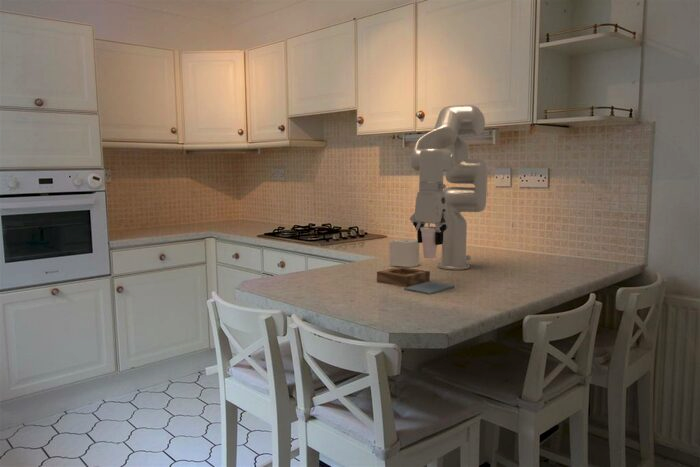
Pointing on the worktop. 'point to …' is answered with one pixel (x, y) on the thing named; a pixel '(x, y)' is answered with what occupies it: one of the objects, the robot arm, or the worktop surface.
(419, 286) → the mat
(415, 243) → the toilet tissue
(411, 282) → the wooden square frame
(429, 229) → the smoothie
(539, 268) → the worktop surface
